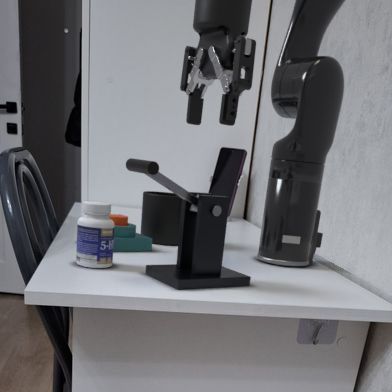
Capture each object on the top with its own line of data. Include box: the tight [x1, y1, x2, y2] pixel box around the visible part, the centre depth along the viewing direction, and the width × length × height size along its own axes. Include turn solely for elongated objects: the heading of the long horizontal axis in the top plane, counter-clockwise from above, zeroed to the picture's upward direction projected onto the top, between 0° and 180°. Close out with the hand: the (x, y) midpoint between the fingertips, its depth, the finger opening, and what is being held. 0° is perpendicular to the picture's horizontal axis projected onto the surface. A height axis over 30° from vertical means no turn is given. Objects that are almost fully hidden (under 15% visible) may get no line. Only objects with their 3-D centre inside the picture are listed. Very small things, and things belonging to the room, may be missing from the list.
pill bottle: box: [75, 200, 114, 269], centre depth 79 cm, size 5×5×9 cm
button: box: [109, 213, 129, 226], centre depth 95 cm, size 4×4×2 cm
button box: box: [113, 222, 153, 252], centre depth 96 cm, size 10×8×4 cm
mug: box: [140, 190, 182, 246], centre depth 107 cm, size 9×12×9 cm
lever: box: [125, 157, 199, 215], centre depth 71 cm, size 13×6×2 cm, turn 120°
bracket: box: [145, 191, 252, 290], centre depth 75 cm, size 12×9×12 cm
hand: (209, 124), depth 77 cm, fingers open, 8 cm apart
